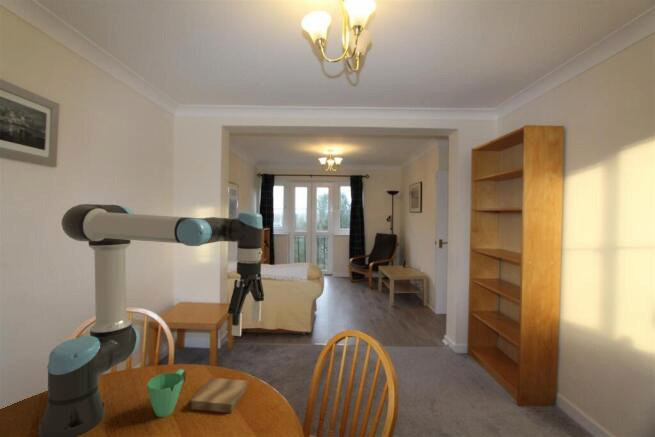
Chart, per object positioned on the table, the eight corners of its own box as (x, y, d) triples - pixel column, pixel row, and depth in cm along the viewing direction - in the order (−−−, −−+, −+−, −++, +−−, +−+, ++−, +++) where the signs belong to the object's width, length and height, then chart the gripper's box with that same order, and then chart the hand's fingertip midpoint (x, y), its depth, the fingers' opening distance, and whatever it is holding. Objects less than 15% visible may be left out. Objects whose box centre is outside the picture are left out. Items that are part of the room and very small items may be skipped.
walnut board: (189, 409, 100) (190, 400, 100) (210, 385, 114) (211, 377, 114) (231, 413, 98) (232, 404, 98) (247, 389, 112) (248, 380, 112)
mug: (169, 424, 93) (170, 390, 93) (139, 420, 94) (139, 387, 94) (195, 395, 107) (196, 366, 107) (169, 392, 108) (170, 364, 108)
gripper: (241, 268, 86) (238, 344, 87) (274, 256, 111) (272, 316, 111) (216, 266, 88) (214, 341, 88) (255, 255, 112) (253, 314, 113)
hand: (246, 327), depth 100 cm, fingers open, 13 cm apart
